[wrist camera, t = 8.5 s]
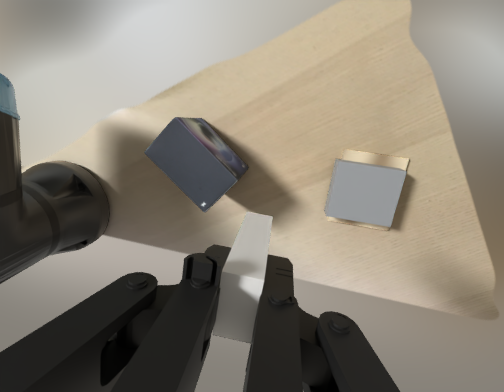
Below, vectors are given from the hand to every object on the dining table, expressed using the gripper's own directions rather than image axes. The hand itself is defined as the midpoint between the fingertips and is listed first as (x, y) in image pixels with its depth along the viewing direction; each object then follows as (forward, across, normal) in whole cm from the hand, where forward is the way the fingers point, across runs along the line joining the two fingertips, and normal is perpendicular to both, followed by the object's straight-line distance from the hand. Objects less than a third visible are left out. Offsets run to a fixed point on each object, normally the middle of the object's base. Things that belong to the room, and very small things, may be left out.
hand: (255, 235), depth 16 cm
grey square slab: (+26, +9, -2) cm, 27 cm away
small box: (+28, -10, -1) cm, 29 cm away
